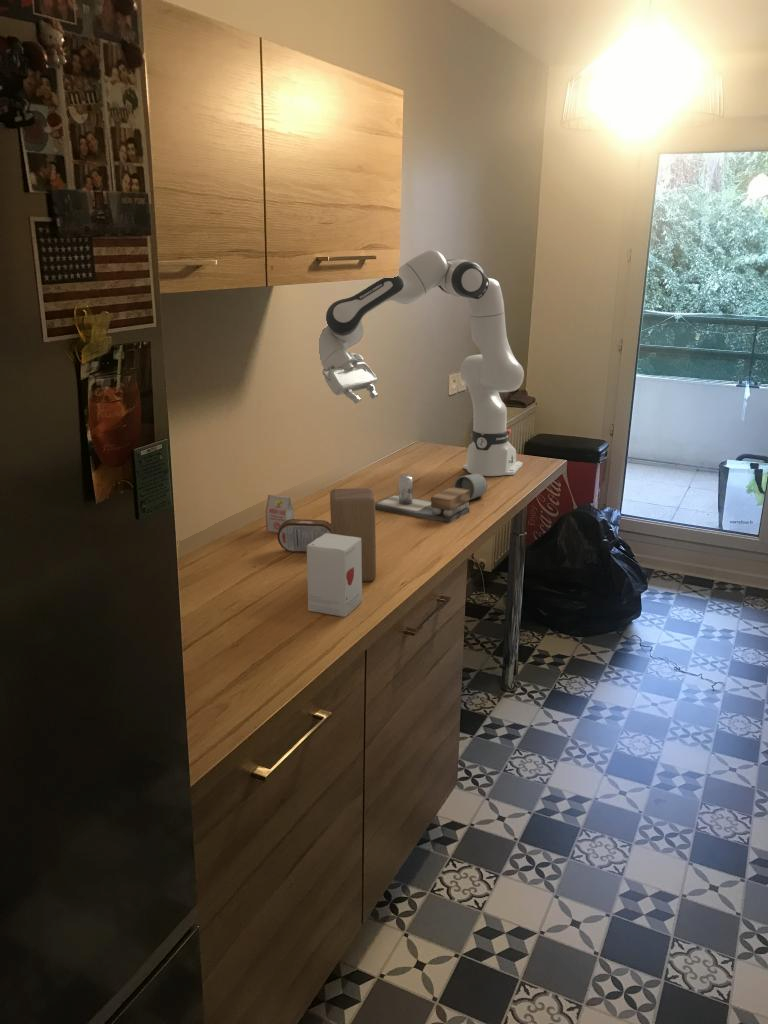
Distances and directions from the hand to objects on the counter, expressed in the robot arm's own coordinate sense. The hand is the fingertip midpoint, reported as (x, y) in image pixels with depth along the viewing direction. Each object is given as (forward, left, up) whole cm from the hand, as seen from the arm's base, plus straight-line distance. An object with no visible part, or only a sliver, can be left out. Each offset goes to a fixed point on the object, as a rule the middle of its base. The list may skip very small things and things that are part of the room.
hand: (367, 399), depth 254 cm
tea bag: (+44, 0, -30) cm, 53 cm away
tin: (+53, +16, -30) cm, 63 cm away
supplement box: (+77, +42, -30) cm, 93 cm away
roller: (+8, +18, -28) cm, 34 cm away
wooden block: (+60, +35, -29) cm, 76 cm away
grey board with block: (+8, +23, -29) cm, 38 cm away
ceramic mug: (-11, +29, -30) cm, 43 cm away
